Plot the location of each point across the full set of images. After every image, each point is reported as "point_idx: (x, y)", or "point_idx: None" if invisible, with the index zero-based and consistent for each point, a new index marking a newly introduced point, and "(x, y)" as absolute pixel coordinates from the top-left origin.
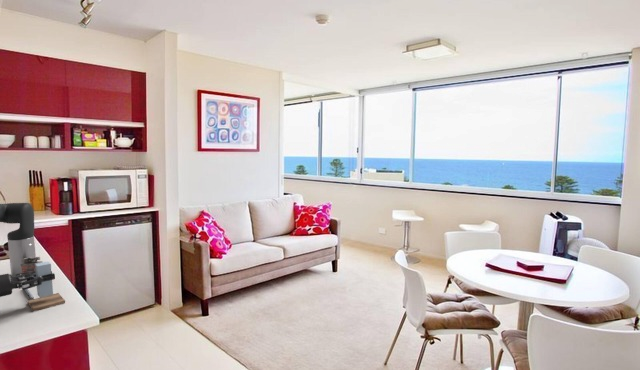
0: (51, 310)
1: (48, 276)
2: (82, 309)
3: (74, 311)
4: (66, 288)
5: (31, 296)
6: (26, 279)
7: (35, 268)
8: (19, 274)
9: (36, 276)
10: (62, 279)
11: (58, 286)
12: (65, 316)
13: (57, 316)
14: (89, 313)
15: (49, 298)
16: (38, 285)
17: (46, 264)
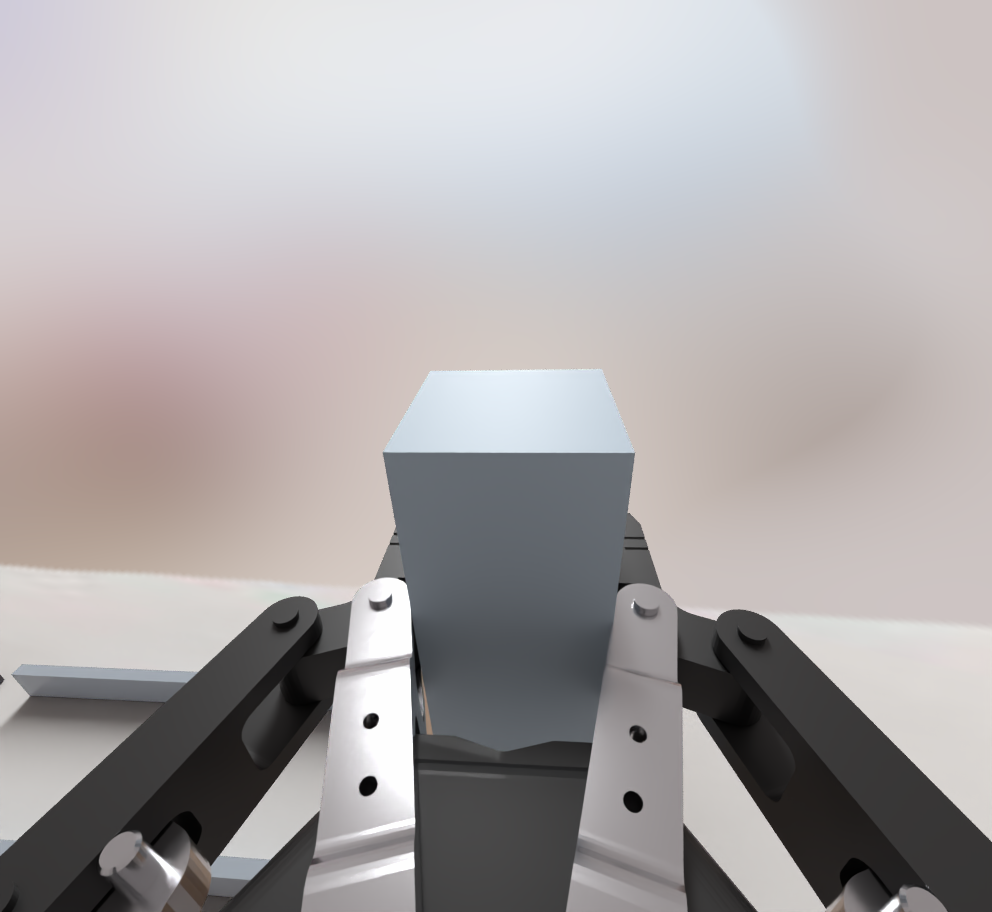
0: (762, 817)
1: (645, 548)
2: (850, 636)
3: (875, 682)
4: (322, 602)
5: None
6: (685, 841)
7: (401, 538)
8: (77, 878)
9: (450, 648)
10: (120, 576)
11: (217, 624)
12: (989, 763)
13: (972, 819)
14: (957, 627)
15: None
16: (567, 731)
17: (602, 389)
